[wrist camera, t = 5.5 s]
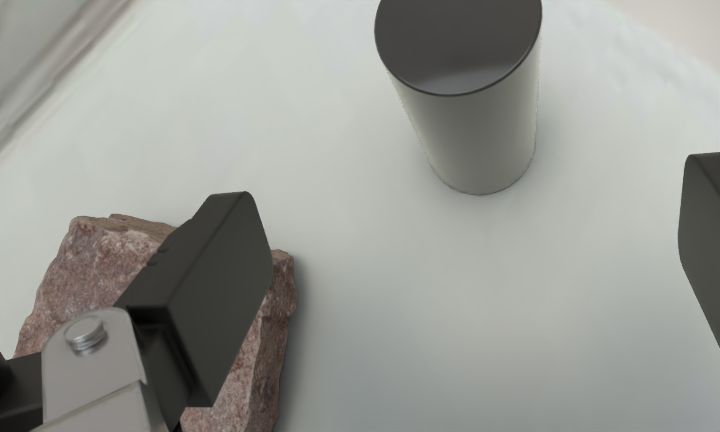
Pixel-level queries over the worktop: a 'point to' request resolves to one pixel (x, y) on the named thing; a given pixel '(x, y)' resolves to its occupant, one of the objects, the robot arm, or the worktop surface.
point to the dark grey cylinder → (466, 83)
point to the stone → (114, 274)
